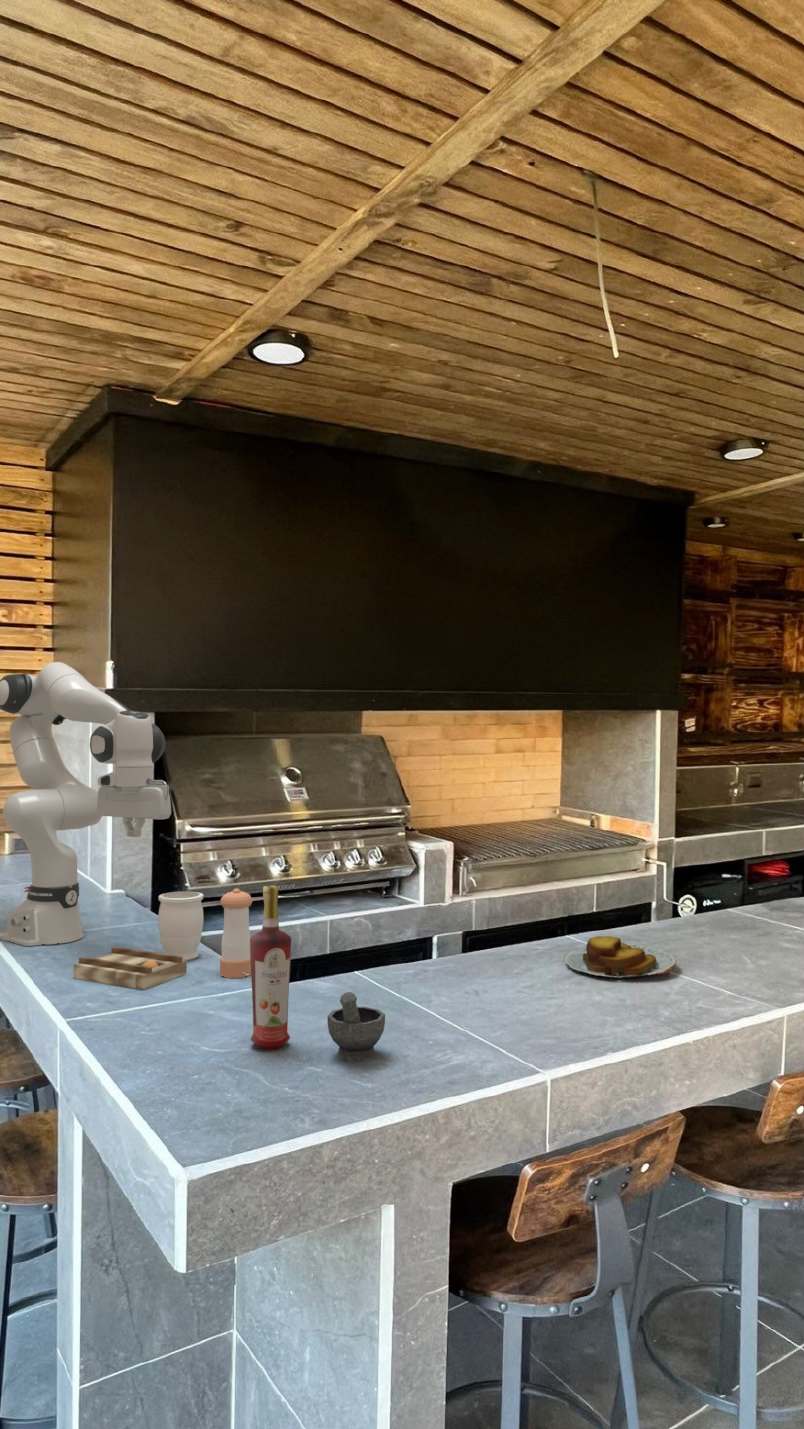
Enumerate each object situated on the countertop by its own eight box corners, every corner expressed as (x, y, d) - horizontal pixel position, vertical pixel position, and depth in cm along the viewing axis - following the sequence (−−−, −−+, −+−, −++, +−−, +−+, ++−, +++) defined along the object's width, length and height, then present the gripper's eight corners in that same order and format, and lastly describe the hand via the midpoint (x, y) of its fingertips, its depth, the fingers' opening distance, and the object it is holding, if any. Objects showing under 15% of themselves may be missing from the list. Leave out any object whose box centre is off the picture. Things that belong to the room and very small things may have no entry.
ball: (136, 980, 208) (136, 962, 208) (148, 975, 211) (148, 957, 212) (150, 982, 206) (150, 964, 206) (162, 977, 210) (162, 959, 210)
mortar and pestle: (338, 1043, 168) (338, 975, 168) (389, 1047, 166) (389, 979, 166) (318, 1066, 158) (318, 994, 157) (373, 1071, 155) (373, 997, 155)
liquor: (255, 1055, 162) (255, 891, 162) (244, 1041, 169) (245, 884, 169) (296, 1049, 165) (296, 888, 165) (284, 1036, 172) (284, 882, 172)
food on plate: (696, 981, 209) (696, 951, 209) (590, 987, 204) (590, 957, 204) (644, 952, 234) (644, 925, 234) (548, 957, 229) (548, 930, 229)
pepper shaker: (245, 979, 209) (245, 892, 209) (214, 977, 210) (214, 891, 210) (257, 970, 216) (257, 886, 216) (227, 968, 218) (227, 885, 218)
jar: (208, 952, 232) (209, 891, 232) (195, 963, 222) (195, 899, 222) (166, 951, 233) (167, 890, 233) (151, 962, 223) (151, 898, 223)
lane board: (73, 978, 210) (73, 959, 210) (118, 963, 222) (118, 945, 222) (143, 989, 201) (143, 970, 201) (186, 973, 213) (186, 955, 213)
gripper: (177, 779, 225) (176, 837, 225) (111, 776, 234) (111, 832, 234) (159, 780, 219) (159, 840, 219) (92, 778, 228) (92, 835, 228)
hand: (133, 836), depth 226 cm, fingers closed
